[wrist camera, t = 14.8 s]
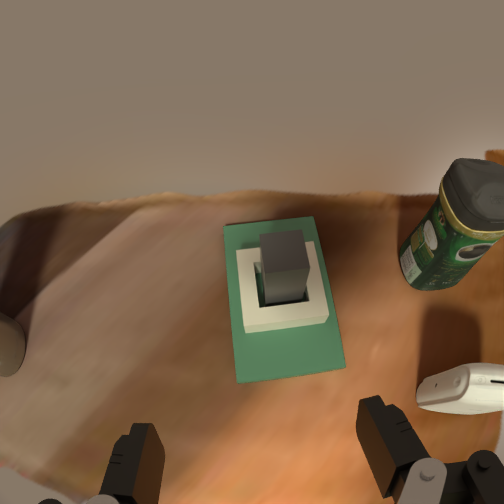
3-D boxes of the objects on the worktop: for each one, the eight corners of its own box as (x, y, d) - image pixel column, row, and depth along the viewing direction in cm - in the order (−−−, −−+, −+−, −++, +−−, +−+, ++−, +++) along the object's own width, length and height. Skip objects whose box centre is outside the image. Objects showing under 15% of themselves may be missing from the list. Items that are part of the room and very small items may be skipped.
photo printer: (411, 409, 31) (468, 401, 20) (418, 375, 32) (474, 353, 22) (476, 417, 29) (539, 406, 18) (481, 385, 31) (543, 365, 20)
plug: (265, 310, 36) (264, 273, 28) (260, 272, 39) (258, 226, 30) (300, 305, 36) (310, 267, 28) (293, 268, 39) (300, 222, 30)
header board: (238, 383, 34) (234, 379, 30) (224, 231, 43) (220, 212, 40) (343, 368, 34) (352, 362, 30) (312, 221, 43) (315, 202, 40)
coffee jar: (446, 239, 41) (509, 152, 25) (462, 288, 37) (541, 212, 21) (391, 242, 41) (444, 143, 25) (404, 296, 37) (478, 211, 21)
